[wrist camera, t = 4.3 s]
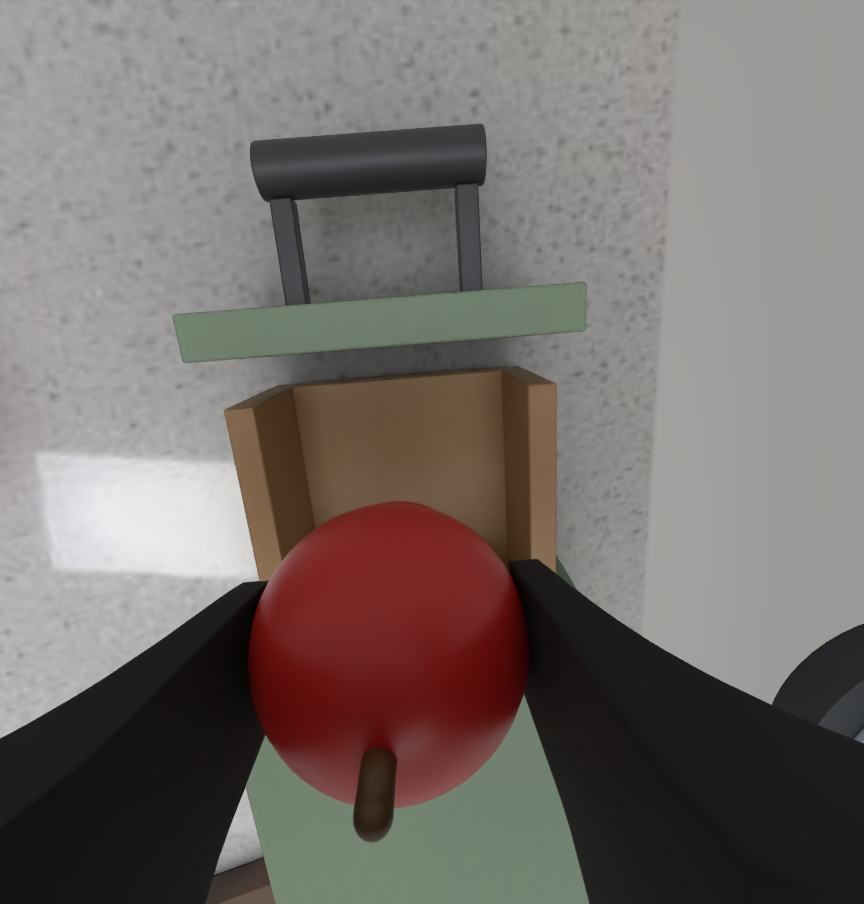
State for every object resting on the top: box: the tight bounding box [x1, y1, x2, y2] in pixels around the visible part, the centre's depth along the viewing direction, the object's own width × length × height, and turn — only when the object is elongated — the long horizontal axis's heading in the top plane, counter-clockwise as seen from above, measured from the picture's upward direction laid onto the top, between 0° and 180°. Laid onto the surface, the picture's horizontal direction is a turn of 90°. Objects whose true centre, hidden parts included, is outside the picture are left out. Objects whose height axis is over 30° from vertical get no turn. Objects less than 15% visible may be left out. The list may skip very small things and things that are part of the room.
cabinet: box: [246, 555, 589, 904], centre depth 19 cm, size 14×12×7 cm
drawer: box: [173, 124, 587, 581], centre depth 15 cm, size 17×10×5 cm, turn 4°
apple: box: [248, 501, 530, 843], centre depth 8 cm, size 5×5×6 cm
